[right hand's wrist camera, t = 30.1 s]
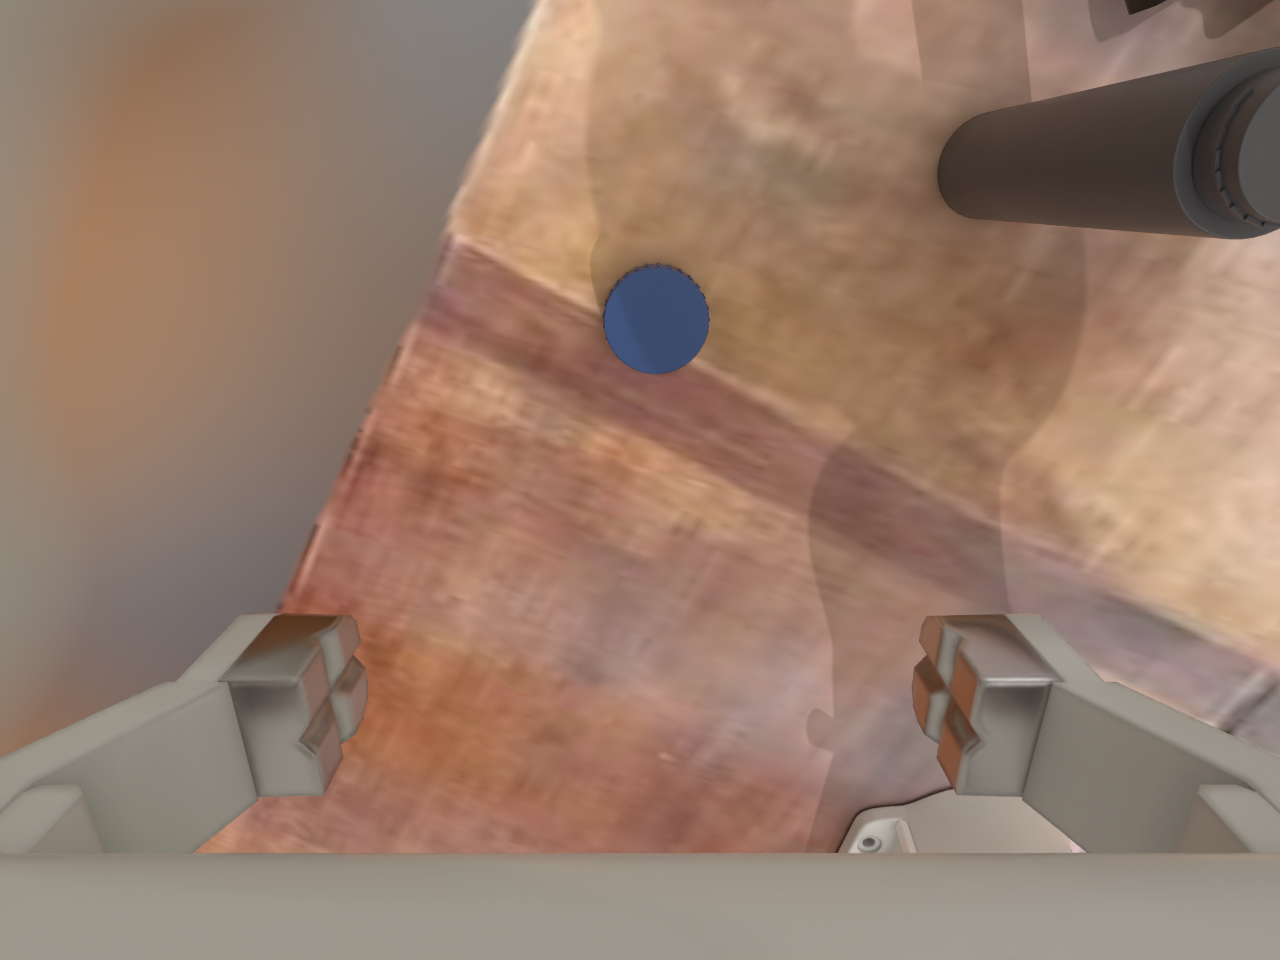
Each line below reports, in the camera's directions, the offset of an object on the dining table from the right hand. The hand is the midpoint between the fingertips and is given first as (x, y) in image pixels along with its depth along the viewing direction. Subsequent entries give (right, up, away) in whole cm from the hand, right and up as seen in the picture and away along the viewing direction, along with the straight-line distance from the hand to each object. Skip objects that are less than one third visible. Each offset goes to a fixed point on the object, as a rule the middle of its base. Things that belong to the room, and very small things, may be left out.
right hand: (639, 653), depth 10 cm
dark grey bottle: (+17, +18, +25) cm, 35 cm away
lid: (+1, +11, +26) cm, 28 cm away
